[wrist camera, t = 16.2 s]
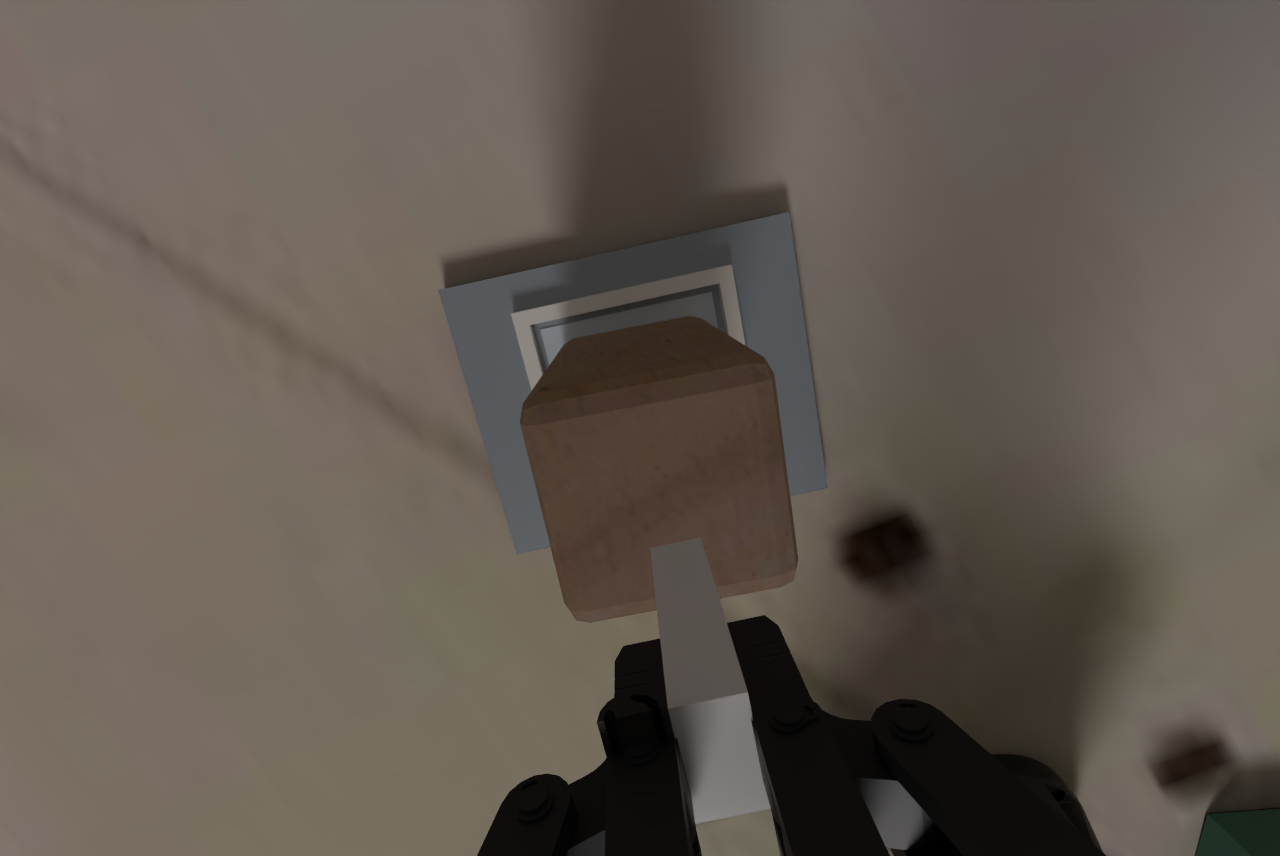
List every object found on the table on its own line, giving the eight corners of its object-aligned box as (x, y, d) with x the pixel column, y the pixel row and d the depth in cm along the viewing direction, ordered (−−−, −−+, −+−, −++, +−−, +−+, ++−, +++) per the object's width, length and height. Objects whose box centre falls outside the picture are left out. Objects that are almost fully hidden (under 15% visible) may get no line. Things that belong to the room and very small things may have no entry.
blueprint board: (783, 213, 41) (793, 210, 39) (821, 480, 46) (832, 492, 44) (444, 289, 42) (433, 290, 39) (520, 545, 47) (514, 560, 44)
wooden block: (559, 339, 41) (508, 403, 22) (702, 312, 41) (777, 352, 22) (589, 473, 44) (567, 637, 24) (723, 448, 44) (807, 592, 24)
